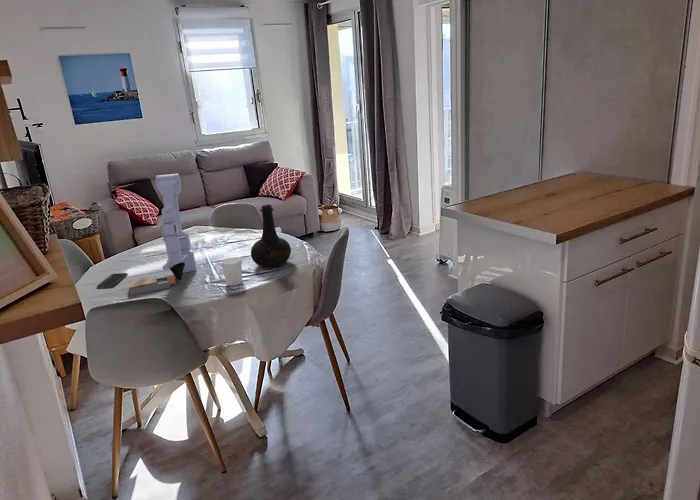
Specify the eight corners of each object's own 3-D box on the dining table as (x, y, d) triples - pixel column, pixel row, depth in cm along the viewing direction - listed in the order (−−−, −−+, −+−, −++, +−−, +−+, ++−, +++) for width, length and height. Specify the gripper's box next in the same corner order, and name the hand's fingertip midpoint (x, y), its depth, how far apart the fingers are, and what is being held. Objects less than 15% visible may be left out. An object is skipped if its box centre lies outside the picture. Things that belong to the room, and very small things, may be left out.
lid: (156, 277, 219) (155, 275, 219) (157, 283, 212) (156, 281, 212) (128, 282, 215) (128, 281, 215) (129, 289, 209) (128, 287, 208)
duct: (169, 280, 222) (168, 275, 221) (170, 287, 215) (169, 281, 214) (130, 288, 216) (129, 283, 215) (130, 295, 209) (129, 289, 208)
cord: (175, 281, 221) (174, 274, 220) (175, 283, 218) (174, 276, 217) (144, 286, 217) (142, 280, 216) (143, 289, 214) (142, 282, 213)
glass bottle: (245, 269, 229) (236, 209, 219) (267, 256, 244) (260, 199, 234) (278, 274, 221) (270, 212, 212) (299, 260, 236) (293, 201, 227)
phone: (95, 287, 219) (111, 273, 233) (96, 289, 219) (112, 276, 233) (113, 286, 218) (128, 272, 232) (114, 288, 219) (129, 275, 233)
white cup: (221, 283, 215) (217, 261, 212) (237, 277, 220) (233, 256, 217) (231, 288, 209) (227, 265, 206) (247, 282, 215) (244, 259, 211)
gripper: (176, 244, 222) (181, 273, 227) (154, 255, 210) (160, 285, 214) (190, 245, 220) (195, 273, 225) (168, 256, 207) (174, 287, 212)
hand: (179, 279), depth 219 cm, fingers closed
